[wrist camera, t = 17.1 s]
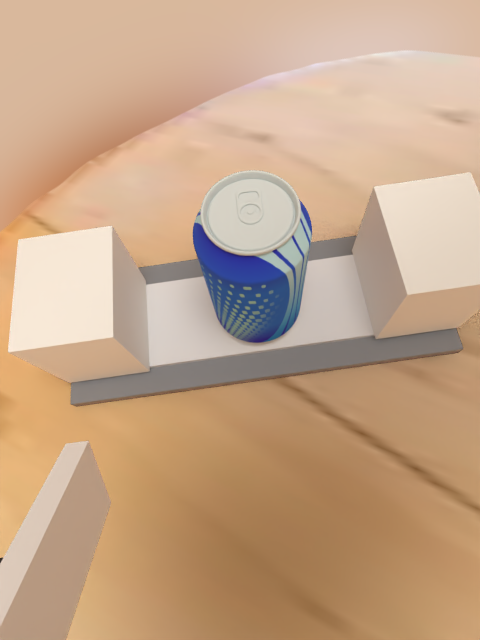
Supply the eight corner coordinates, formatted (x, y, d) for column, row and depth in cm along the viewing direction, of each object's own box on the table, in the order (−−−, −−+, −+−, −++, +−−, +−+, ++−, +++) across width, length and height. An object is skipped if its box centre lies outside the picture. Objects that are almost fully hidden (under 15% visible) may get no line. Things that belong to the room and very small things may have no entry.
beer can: (315, 296, 42) (339, 191, 27) (270, 363, 39) (269, 290, 24) (246, 257, 44) (233, 141, 29) (200, 319, 41) (160, 228, 27)
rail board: (416, 232, 45) (462, 153, 35) (458, 352, 40) (527, 303, 29) (79, 282, 46) (20, 220, 35) (76, 406, 41) (5, 378, 30)
